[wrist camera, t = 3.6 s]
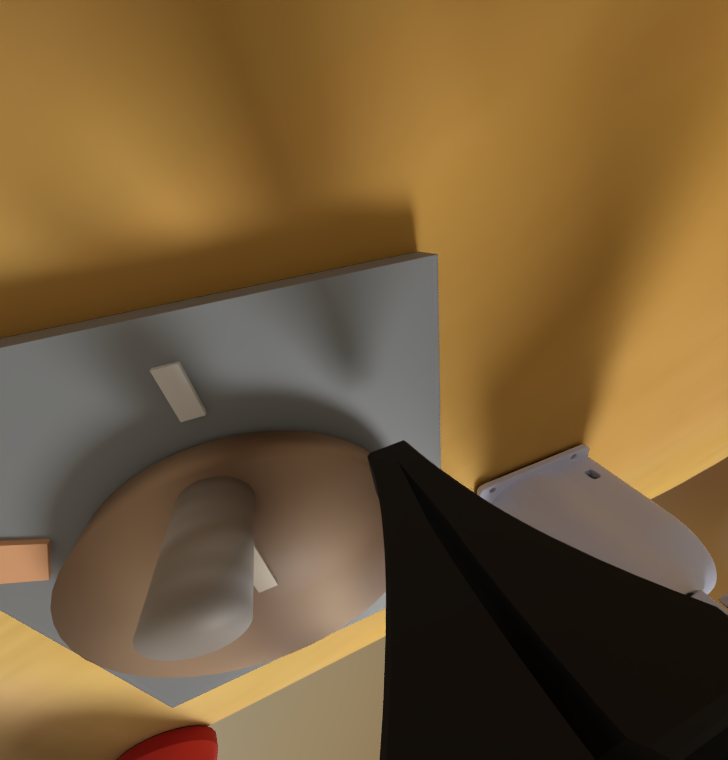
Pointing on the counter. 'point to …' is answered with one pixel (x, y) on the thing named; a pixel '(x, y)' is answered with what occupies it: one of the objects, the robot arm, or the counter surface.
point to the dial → (225, 557)
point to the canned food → (177, 745)
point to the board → (203, 404)
